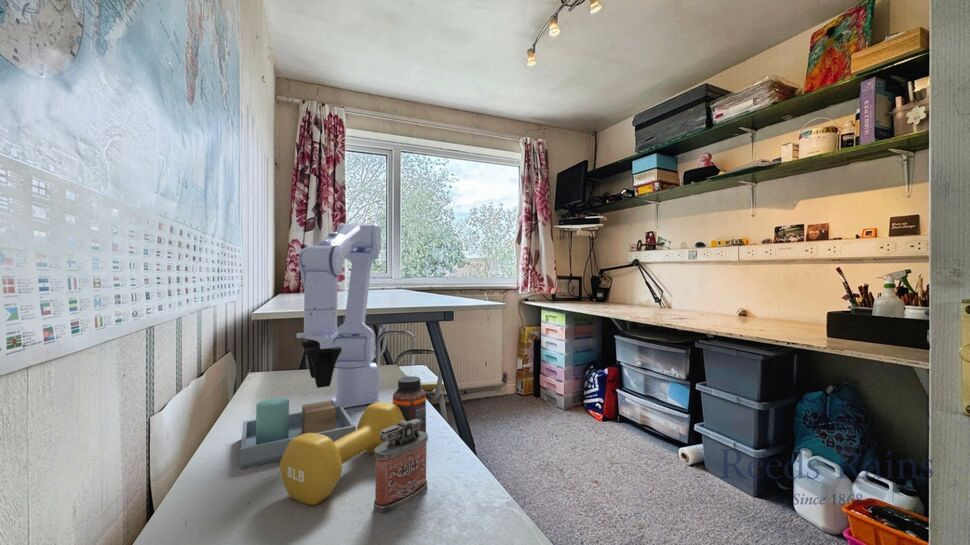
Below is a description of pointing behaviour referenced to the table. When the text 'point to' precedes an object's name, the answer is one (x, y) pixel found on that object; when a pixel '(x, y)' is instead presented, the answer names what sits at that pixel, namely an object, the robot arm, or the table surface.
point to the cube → (318, 417)
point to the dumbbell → (332, 454)
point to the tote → (276, 449)
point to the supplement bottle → (411, 400)
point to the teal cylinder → (272, 420)
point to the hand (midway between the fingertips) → (320, 381)
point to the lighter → (400, 466)
